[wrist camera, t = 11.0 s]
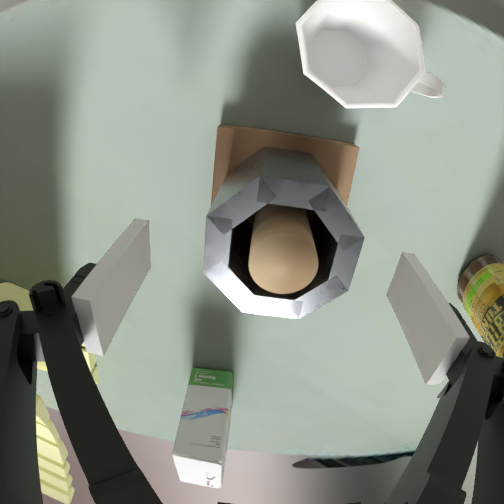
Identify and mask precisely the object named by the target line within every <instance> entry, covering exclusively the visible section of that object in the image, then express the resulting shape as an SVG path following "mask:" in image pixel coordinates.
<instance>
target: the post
mask: <svg viewBox="0 0 504 504" xmlns="http://www.w3.org/2000/svg"><path fill="white" fill-rule="evenodd" d="M263 146H266V147H274V148H281V149H288V150H295V151H301V152H307V153H311V154H312V155H313V157H314V158H315V159H316V161H317V162H318V164H319V165H320V166H321V168H322V169H323V171H324V172H325V173H326V175H327V176H328V178H329V179H330V181H331V182H332V183H333V185H334V186H335V188H336V189H337V191H338V192H339V194H340V196H341V197H342V199H343V201H344V203H345V204H346V206H347V202H348V198H349V193H350V189H351V184H352V180H353V175H354V170H355V166H356V161H357V156H358V151H359V147H357V146H356V145H355V144H351V143H346V142H341V141H336V140H331V139H325V138H320V137H314V136H308V135H302V134H295V133H289V132H282V131H275V130H267V129H260V128H251V127H243V126H233V125H223V124H221V125H219V126H218V129H217V140H216V151H215V162H214V174H213V187H212V200H211V206H212V204H213V201H214V199H215V197H216V195H217V193H218V191H219V189H220V187H221V185H222V183H223V181H224V179H225V177H226V175H227V174H228V173H229V172H230V171H231V170H233V169H234V168H235V167H237V166H238V165H239V164H241V163H242V162H243V161H245V160H246V159H247V158H249V157H250V156H251V155H253V154H254V153H255V152H257V151H258V150H259V149H261V148H262V147H263ZM314 212H315V210H311V209H304V208H297V207H290V206H283V205H276V204H266V205H265V206H264V207H262V208H261V209H259V210H258V211H257V212H255V213H254V214H252V215H251V216H250V217H248V218H247V219H248V220H249V222H250V223H251V224H252V225H253V231H252V239H251V247H250V254H249V264H248V265H249V271H250V274H251V277H252V278H253V280H254V281H255V282H256V283H257V284H258V285H259V286H260V287H261V288H263V289H265V290H267V291H269V292H272V293H277V294H288V293H293V292H296V291H299V290H301V289H303V288H304V287H306V286H307V285H308V284H309V283H310V282H311V281H312V280H313V279H314V277H315V275H316V273H317V270H318V256H317V252H316V248H315V244H314V240H313V236H312V232H311V228H310V224H309V223H311V222H312V221H313V216H314Z"/></svg>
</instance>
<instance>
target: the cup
mask: <svg viewBox="0 0 504 504" xmlns="http://www.w3.org/2000/svg"><path fill="white" fill-rule="evenodd" d="M296 29H297V35H298V41H299V47H300V54H301V61H302V67H303V74H304V75H306V76H307V77H308V78H310V79H311V80H312V81H313V82H315V83H316V84H317V85H318V86H320V87H321V88H322V89H323V90H325V91H326V92H327V93H328V94H329V95H331V96H332V97H333V98H334V99H335V100H337V101H338V102H339V103H340V104H341V105H343V106H344V107H345V108H346V109H347V108H396V107H397V106H398V105H399V104H400V102H401V101H402V100H403V99H404V98H405V97H406V95H407V94H408V93H409V92H410V91H412V92H415V93H418V94H421V95H424V96H428V97H432V98H442V97H443V96H444V93H445V89H446V85H445V83H444V82H443V81H442V80H440V79H439V78H438V77H436V76H434V75H433V74H431V73H429V72H427V71H425V65H424V56H423V48H422V41H421V34H420V28H419V25H418V24H417V23H416V22H415V21H414V20H413V19H412V18H410V17H409V16H408V15H407V14H406V13H405V12H404V11H403V10H402V9H401V8H400V7H399V6H397V5H396V4H395V3H394V2H393V1H392V0H317V1H316V2H315V3H314V4H313V5H312V6H311V7H310V8H309V9H308V10H307V11H306V12H305V13H304V14H303V16H302V17H301V18H300V19H299V20H298V21H297V22H296ZM418 82H419V83H418Z"/></svg>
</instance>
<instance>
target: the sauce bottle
mask: <svg viewBox="0 0 504 504" xmlns="http://www.w3.org/2000/svg"><path fill="white" fill-rule="evenodd" d="M458 297H459V299H460V300H461V301H462V303H463V306H464V308H465V310H466V312H467V313H468V315H469V317H470V318H471V320H472V322H473V323H474V325H475V327H476V328H477V330H478V332H479V334H480V335H481V337H482V339H483V340H484V342H485V343H486V344H488V345H489V346H490V347H491V348H492V349H493V350H494V351H495V353H496V356H498V357H502V358H504V264H502V262H501V261H500V260H499V259H498V258H496V257H494V256H492V255H486V256H481V257H479V258H477V259H476V260H475V261H473V262H471V263H470V264H469V266H468V267H467V268H466V269H465V271H464V272H463V274H462V275H461V277H460V279H459V282H458Z"/></svg>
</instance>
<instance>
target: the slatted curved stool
mask: <svg viewBox="0 0 504 504" xmlns="http://www.w3.org/2000/svg"><path fill="white" fill-rule="evenodd" d="M29 292H30V291H29V290H26V289H24V288H21V287H19V286H17V285H14V284H12V283H8V282H5V283H0V302H2V301H6V300H12V301H15V302H16V303H17V304H18V306H19V309H20V311H34V310H33V307H32V304H31V301H30V297H29ZM81 349H82V351H83V354H84V357H85V359H86V362H87V364H88V367H89V369H90V372H91V374H92V376H93V379H94V381H95V383H96V385H97V384H98V383H99V376H98V369H97V366H96V365H95V363H96V355H95V354H92V353H88V352H87V351H86V348H85V345H84V342H83V344H82V346H81ZM37 369H40V370H44V371H47V367H46V363H45V362H37ZM49 418H50V416H49V413H48V411H47V409H46V406H45V404H44V402H43V400H42V397H41V396H39V395H37V394H36V436H37V454H38V466H39V476H40V484H41V492H42V493H44V494H46V495H48V496H50V497H52V498H54V499H56V500H59V501H61V502H63V503H65V504H70V503H71V500H72V497H73V494H74V491H75V489H74V488H73V487H72V486H71V482H72V477H71V476H70V474H68V472H69V469H70V465H69V463H68V462H67V461H65V460H66V457H67V455H68V452H67V450H66V448H65V446H64V444H63V442H62V441H61V440H60V439H59V438H60V436H59V434H58V432H57V430H56V428H55V426H54V424H53V422H52V421H51V420H49Z"/></svg>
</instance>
